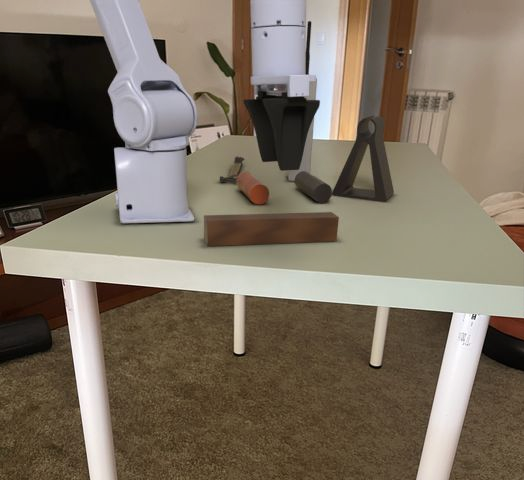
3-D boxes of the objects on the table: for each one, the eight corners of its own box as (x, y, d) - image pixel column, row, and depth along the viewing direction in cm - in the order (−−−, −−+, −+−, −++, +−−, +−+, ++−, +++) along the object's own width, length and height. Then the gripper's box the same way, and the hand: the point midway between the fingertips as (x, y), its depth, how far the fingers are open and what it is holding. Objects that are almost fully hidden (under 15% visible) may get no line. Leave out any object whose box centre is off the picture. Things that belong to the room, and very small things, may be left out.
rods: (249, 204, 83) (250, 184, 82) (235, 190, 91) (236, 171, 90) (331, 203, 86) (333, 183, 85) (310, 189, 95) (311, 170, 93)
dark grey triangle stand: (331, 195, 91) (339, 116, 85) (342, 188, 96) (349, 113, 90) (386, 202, 88) (397, 120, 82) (393, 194, 93) (405, 117, 87)
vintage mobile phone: (309, 177, 104) (321, 22, 92) (309, 182, 99) (321, 20, 87) (289, 176, 104) (298, 21, 92) (288, 181, 99) (297, 19, 88)
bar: (207, 246, 64) (207, 220, 63) (204, 240, 66) (203, 215, 65) (336, 241, 68) (339, 217, 67) (329, 235, 70) (331, 211, 69)
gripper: (340, 21, 52) (335, 171, 58) (294, 34, 65) (294, 156, 71) (268, 21, 51) (270, 176, 57) (235, 34, 63) (240, 159, 69)
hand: (279, 165), depth 64 cm, fingers open, 7 cm apart
